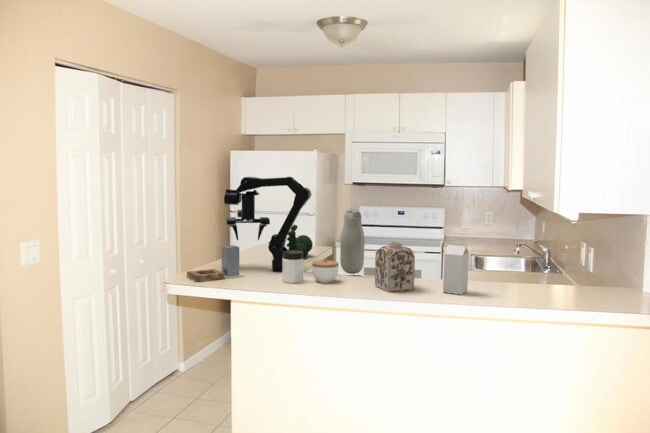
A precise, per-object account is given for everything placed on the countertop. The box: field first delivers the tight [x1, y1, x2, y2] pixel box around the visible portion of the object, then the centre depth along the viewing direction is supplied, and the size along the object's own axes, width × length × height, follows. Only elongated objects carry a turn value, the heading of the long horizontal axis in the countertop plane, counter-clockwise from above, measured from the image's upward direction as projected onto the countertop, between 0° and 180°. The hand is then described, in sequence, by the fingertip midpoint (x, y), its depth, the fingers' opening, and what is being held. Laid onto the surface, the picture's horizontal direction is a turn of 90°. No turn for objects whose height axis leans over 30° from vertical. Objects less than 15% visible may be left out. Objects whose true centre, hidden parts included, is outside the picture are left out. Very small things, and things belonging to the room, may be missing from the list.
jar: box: [281, 249, 305, 284], centre depth 235 cm, size 9×8×12 cm
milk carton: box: [442, 241, 470, 296], centre depth 220 cm, size 7×7×19 cm
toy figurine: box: [286, 224, 314, 259], centre depth 290 cm, size 9×19×25 cm
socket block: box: [186, 268, 226, 283], centre depth 239 cm, size 12×11×2 cm
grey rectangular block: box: [221, 244, 240, 277], centre depth 244 cm, size 6×6×12 cm
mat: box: [225, 273, 244, 279], centre depth 245 cm, size 8×8×1 cm
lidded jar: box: [311, 258, 339, 284], centre depth 236 cm, size 11×11×9 cm
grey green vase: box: [339, 208, 366, 275], centre depth 253 cm, size 10×10×28 cm
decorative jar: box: [374, 241, 416, 293], centre depth 225 cm, size 12×12×18 cm
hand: (247, 240), depth 259 cm, fingers open, 9 cm apart
